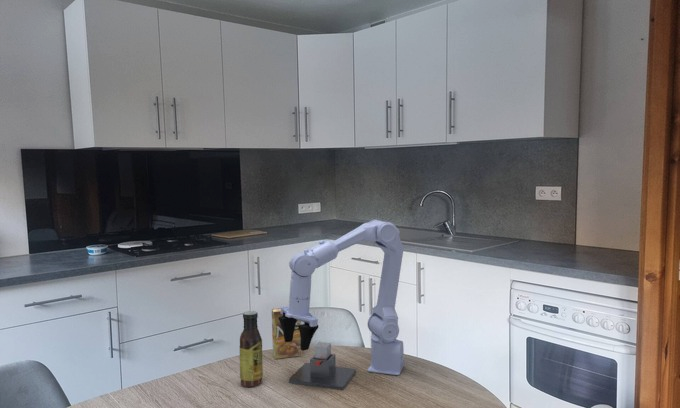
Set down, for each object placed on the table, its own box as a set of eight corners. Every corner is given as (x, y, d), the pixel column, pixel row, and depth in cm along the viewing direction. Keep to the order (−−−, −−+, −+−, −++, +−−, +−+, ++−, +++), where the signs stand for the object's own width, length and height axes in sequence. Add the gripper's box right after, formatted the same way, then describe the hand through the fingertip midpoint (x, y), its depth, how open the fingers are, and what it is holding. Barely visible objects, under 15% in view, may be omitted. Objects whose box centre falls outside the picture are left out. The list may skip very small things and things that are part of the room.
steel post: (331, 371, 134) (330, 343, 133) (326, 376, 130) (326, 347, 130) (319, 370, 135) (319, 342, 134) (315, 375, 131) (314, 346, 131)
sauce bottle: (257, 388, 126) (255, 316, 125) (236, 387, 127) (234, 315, 126) (266, 378, 133) (264, 310, 131) (245, 377, 134) (243, 309, 133)
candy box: (274, 359, 146) (273, 311, 145) (272, 354, 150) (271, 308, 149) (302, 356, 149) (301, 309, 148) (299, 351, 153) (298, 305, 152)
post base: (356, 372, 136) (355, 352, 135) (343, 390, 124) (342, 368, 124) (305, 366, 141) (305, 346, 141) (288, 382, 130) (288, 361, 129)
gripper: (273, 292, 131) (269, 340, 131) (304, 304, 120) (300, 356, 121) (293, 290, 136) (290, 336, 136) (325, 301, 125) (321, 351, 125)
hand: (296, 345), depth 129 cm, fingers open, 7 cm apart
